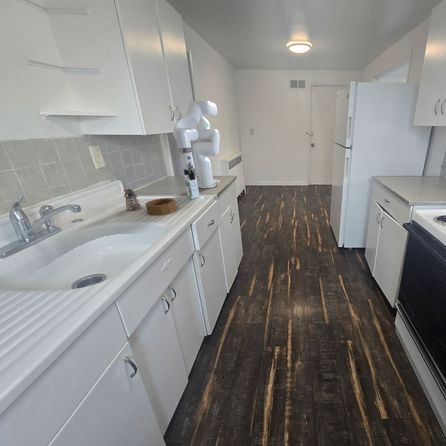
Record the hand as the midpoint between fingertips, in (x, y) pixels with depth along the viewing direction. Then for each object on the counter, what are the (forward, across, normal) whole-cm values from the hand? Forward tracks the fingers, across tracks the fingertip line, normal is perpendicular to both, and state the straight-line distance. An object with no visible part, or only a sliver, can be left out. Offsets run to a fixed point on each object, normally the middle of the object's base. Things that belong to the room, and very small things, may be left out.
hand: (190, 178), depth 160 cm
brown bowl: (+13, -13, +22) cm, 28 cm away
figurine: (+13, +1, +34) cm, 36 cm away
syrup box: (+13, +1, 0) cm, 13 cm away
